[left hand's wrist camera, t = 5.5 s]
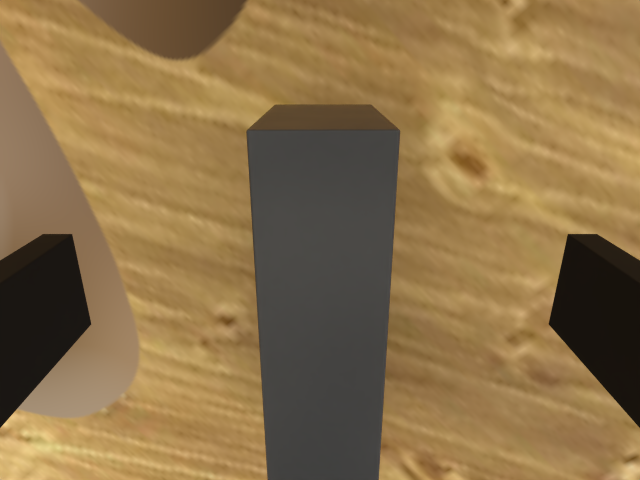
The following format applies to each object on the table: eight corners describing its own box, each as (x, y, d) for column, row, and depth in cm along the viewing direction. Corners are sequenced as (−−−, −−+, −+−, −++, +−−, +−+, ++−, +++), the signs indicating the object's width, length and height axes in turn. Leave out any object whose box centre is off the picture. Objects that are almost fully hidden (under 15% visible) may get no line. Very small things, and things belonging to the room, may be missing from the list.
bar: (274, 104, 21) (246, 129, 13) (371, 104, 21) (400, 129, 13) (289, 511, 31) (278, 663, 23) (356, 512, 31) (367, 664, 23)
